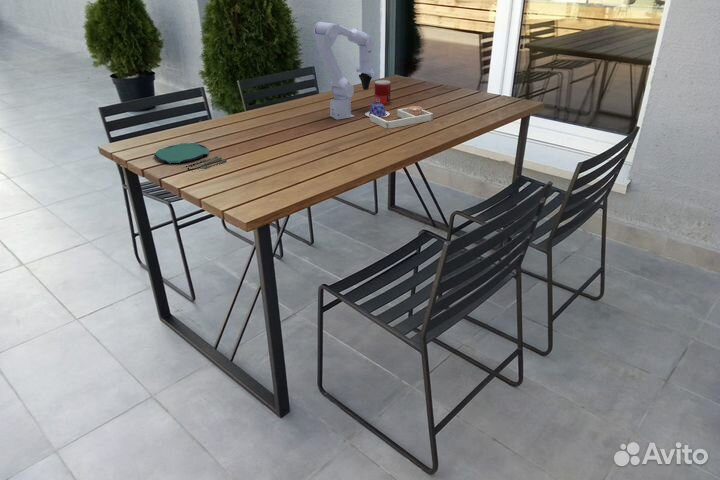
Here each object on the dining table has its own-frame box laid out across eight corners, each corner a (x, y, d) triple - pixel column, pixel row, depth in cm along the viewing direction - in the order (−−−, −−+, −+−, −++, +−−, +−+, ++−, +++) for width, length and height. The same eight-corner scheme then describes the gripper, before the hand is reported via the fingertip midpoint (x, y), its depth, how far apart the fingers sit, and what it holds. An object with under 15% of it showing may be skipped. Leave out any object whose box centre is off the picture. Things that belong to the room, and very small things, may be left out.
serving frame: (386, 128, 241) (387, 122, 240) (369, 120, 253) (369, 114, 252) (432, 120, 252) (433, 113, 251) (414, 112, 264) (414, 106, 262)
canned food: (390, 105, 276) (390, 83, 271) (374, 105, 276) (374, 83, 271) (390, 101, 283) (390, 79, 277) (374, 101, 283) (374, 80, 278)
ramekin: (412, 120, 252) (413, 110, 249) (404, 117, 257) (405, 107, 254) (424, 118, 255) (425, 108, 252) (416, 115, 260) (416, 105, 257)
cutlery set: (192, 144, 228) (191, 139, 227) (232, 162, 209) (231, 157, 208) (147, 157, 216) (146, 151, 215) (185, 177, 197) (184, 172, 196)
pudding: (368, 120, 255) (368, 108, 253) (362, 113, 265) (362, 102, 263) (393, 117, 258) (393, 106, 255) (385, 111, 268) (385, 100, 265)
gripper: (380, 62, 255) (380, 91, 261) (365, 57, 266) (365, 85, 272) (367, 63, 252) (367, 93, 258) (352, 58, 263) (353, 87, 269)
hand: (365, 89), depth 265 cm, fingers closed
